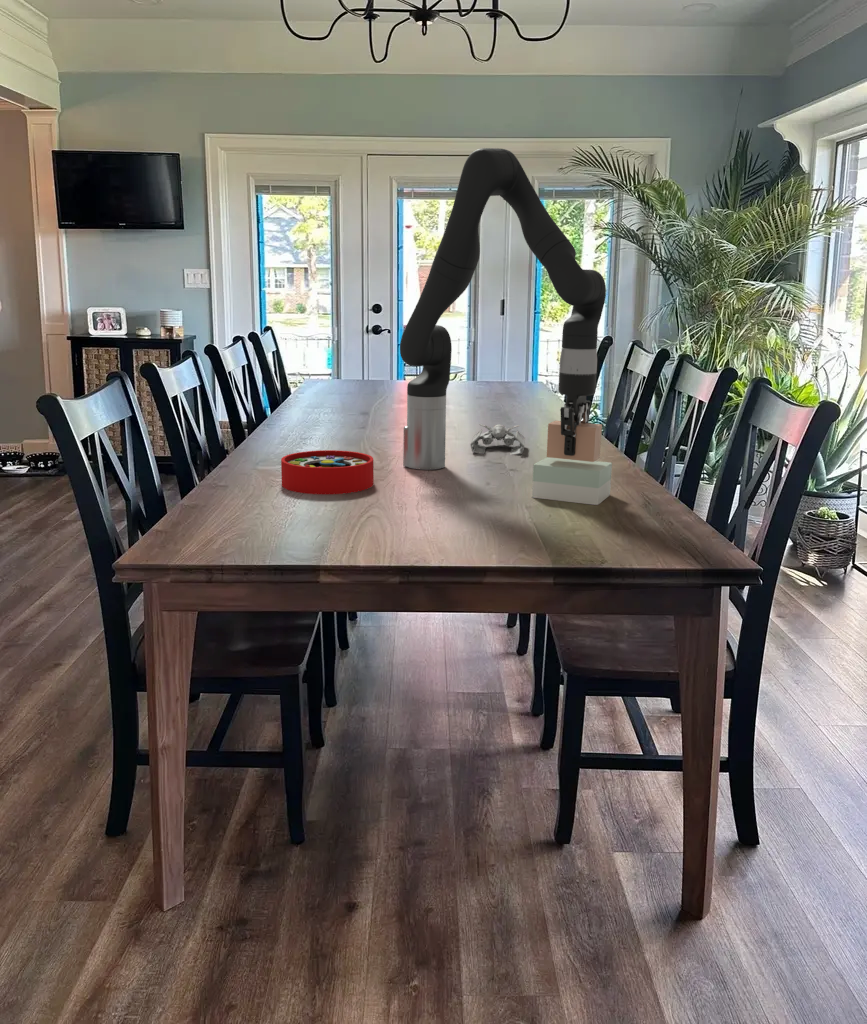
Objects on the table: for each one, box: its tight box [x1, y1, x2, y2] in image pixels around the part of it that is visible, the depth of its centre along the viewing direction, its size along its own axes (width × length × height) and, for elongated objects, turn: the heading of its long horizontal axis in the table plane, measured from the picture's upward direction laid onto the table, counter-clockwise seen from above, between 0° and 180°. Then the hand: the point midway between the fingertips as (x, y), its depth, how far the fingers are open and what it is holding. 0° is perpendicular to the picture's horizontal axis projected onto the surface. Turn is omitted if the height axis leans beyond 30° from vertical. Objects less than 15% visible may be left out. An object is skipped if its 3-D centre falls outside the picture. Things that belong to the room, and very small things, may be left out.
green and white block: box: [531, 456, 613, 506], centre depth 195 cm, size 14×10×7 cm
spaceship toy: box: [469, 423, 526, 456], centre depth 246 cm, size 14×20×6 cm
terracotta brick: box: [546, 420, 603, 462], centre depth 193 cm, size 5×10×7 cm, turn 65°
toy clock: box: [280, 449, 375, 495], centre depth 203 cm, size 20×6×20 cm
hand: (573, 452), depth 193 cm, fingers closed on terracotta brick, 5 cm apart
